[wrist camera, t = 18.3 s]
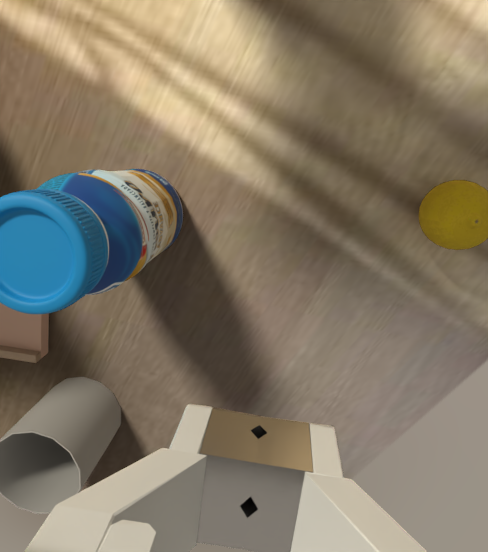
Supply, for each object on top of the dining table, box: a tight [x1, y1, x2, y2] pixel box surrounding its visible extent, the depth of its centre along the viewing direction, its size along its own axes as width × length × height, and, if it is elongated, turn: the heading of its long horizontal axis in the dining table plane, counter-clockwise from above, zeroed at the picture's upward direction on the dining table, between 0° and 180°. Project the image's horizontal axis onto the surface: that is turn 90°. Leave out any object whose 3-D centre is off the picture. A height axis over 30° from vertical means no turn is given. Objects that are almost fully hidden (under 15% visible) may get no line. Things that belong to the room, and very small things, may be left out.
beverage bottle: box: [0, 169, 183, 314], centre depth 34 cm, size 8×8×20 cm
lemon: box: [419, 180, 488, 250], centre depth 37 cm, size 6×6×8 cm
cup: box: [0, 377, 121, 514], centre depth 45 cm, size 8×8×10 cm
